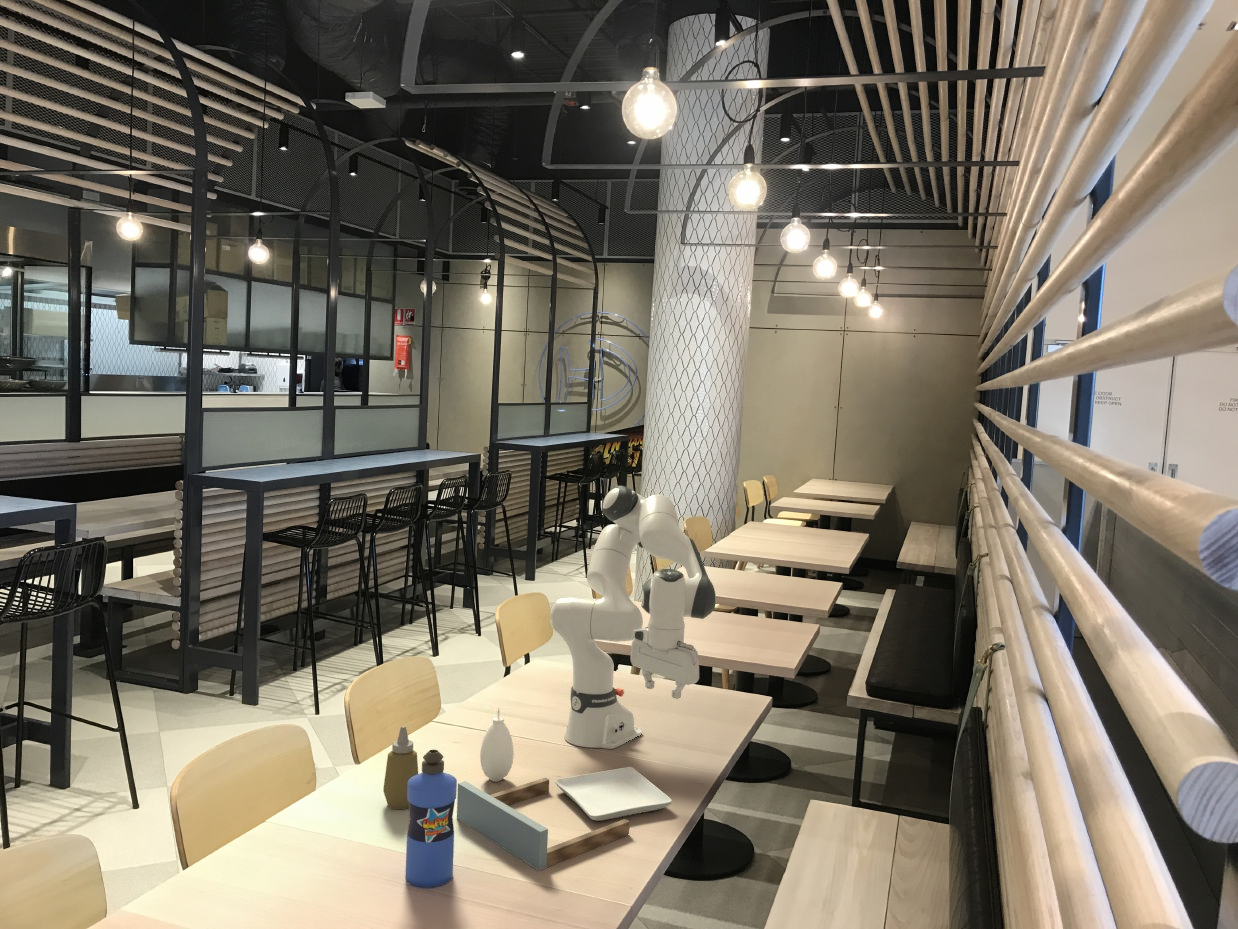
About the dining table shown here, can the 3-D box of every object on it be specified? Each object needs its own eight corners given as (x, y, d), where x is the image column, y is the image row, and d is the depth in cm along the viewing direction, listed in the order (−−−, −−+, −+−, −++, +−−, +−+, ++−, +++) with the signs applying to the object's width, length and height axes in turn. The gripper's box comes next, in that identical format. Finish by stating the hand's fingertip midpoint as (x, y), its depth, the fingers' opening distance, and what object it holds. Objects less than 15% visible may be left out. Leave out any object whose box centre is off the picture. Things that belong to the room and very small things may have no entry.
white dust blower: (518, 781, 232) (521, 708, 231) (493, 789, 226) (496, 715, 225) (498, 771, 237) (500, 700, 236) (473, 779, 232) (475, 707, 230)
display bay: (544, 789, 228) (546, 757, 227) (628, 834, 207) (630, 799, 206) (456, 818, 210) (457, 783, 210) (538, 870, 189) (540, 831, 189)
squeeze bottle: (425, 800, 219) (428, 724, 217) (406, 815, 211) (409, 736, 210) (395, 794, 221) (397, 718, 220) (375, 808, 214) (377, 730, 212)
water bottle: (400, 868, 188) (404, 745, 186) (447, 861, 192) (451, 740, 190) (409, 892, 179) (413, 763, 177) (458, 884, 183) (463, 757, 181)
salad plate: (591, 830, 209) (591, 815, 208) (552, 792, 227) (553, 778, 227) (674, 814, 219) (674, 800, 218) (630, 779, 237) (631, 765, 237)
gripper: (706, 645, 225) (703, 702, 226) (645, 626, 240) (642, 680, 241) (688, 649, 221) (685, 707, 222) (627, 630, 236) (624, 684, 237)
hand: (662, 693), depth 232 cm, fingers open, 8 cm apart
